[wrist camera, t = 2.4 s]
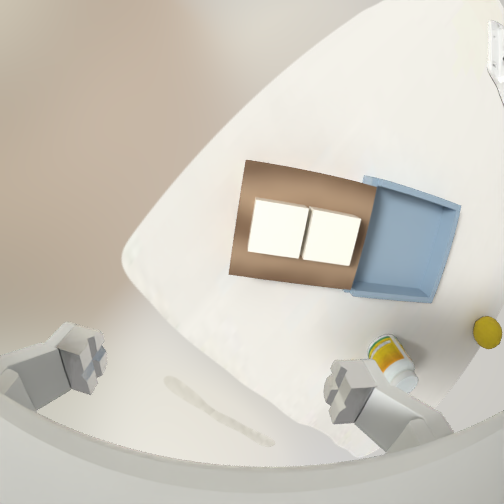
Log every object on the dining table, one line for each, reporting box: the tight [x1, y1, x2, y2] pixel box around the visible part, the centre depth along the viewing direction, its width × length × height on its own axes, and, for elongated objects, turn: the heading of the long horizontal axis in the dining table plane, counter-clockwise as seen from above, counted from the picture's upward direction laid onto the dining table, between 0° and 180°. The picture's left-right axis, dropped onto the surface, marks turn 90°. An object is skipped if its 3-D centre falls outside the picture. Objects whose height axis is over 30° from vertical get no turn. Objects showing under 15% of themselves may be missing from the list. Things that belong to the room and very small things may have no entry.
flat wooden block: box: [229, 160, 377, 290], centre depth 30 cm, size 12×14×4 cm
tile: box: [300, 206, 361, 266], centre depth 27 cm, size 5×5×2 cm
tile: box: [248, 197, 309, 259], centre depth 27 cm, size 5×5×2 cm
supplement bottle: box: [368, 334, 418, 393], centre depth 34 cm, size 5×5×10 cm
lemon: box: [473, 316, 502, 349], centre depth 35 cm, size 6×6×8 cm
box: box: [343, 175, 461, 303], centre depth 31 cm, size 14×14×4 cm
